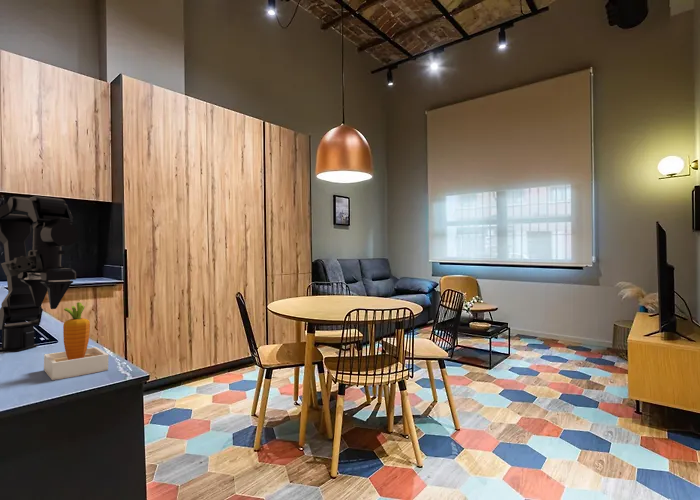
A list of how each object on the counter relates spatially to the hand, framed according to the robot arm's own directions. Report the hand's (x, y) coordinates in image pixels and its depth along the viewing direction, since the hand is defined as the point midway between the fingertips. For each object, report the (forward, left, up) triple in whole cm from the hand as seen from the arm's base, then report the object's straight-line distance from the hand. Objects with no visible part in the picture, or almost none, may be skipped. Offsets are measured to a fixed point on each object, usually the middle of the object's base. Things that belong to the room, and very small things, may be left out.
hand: (45, 307), depth 96 cm
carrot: (+15, -8, -13) cm, 22 cm away
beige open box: (+15, -8, -13) cm, 22 cm away
